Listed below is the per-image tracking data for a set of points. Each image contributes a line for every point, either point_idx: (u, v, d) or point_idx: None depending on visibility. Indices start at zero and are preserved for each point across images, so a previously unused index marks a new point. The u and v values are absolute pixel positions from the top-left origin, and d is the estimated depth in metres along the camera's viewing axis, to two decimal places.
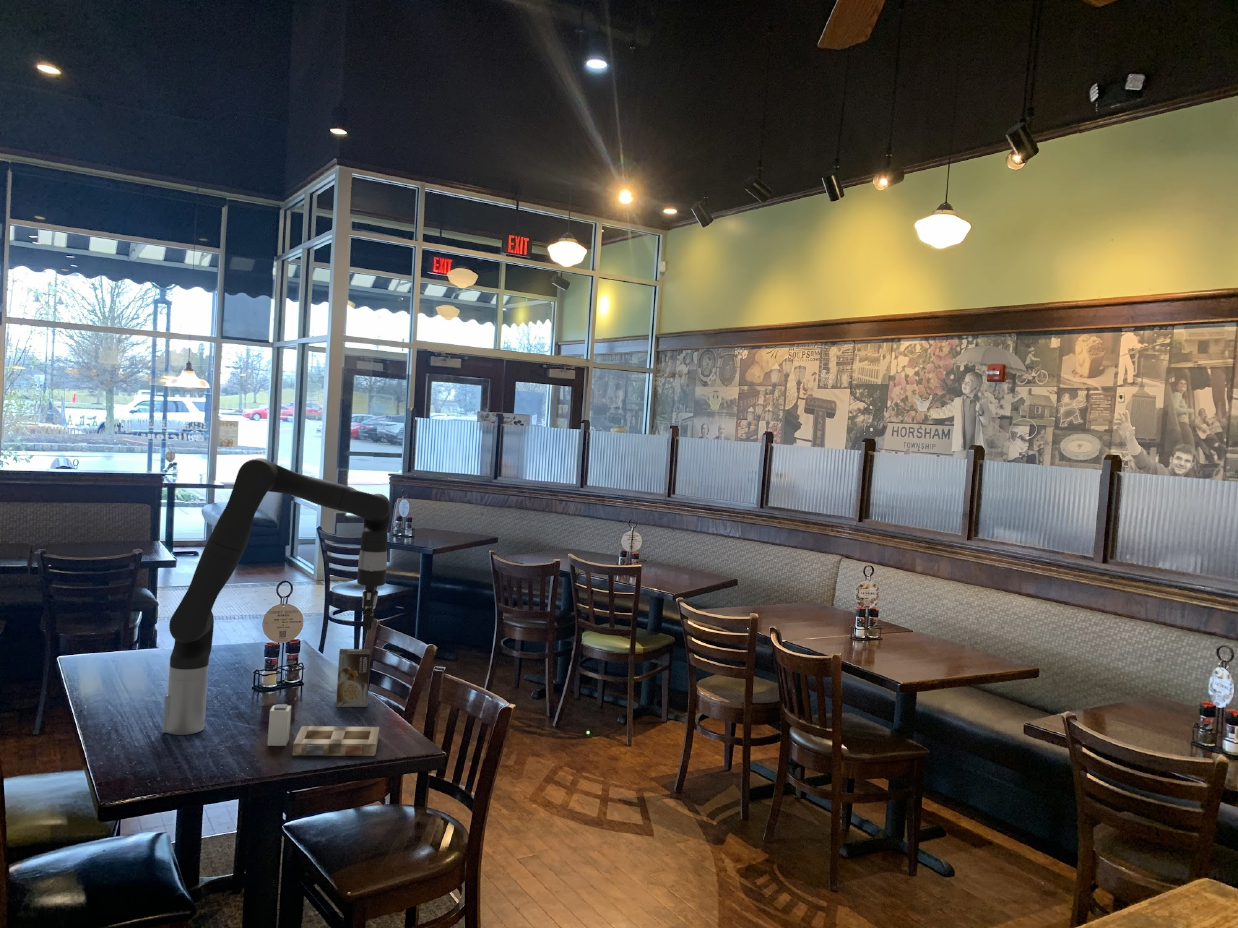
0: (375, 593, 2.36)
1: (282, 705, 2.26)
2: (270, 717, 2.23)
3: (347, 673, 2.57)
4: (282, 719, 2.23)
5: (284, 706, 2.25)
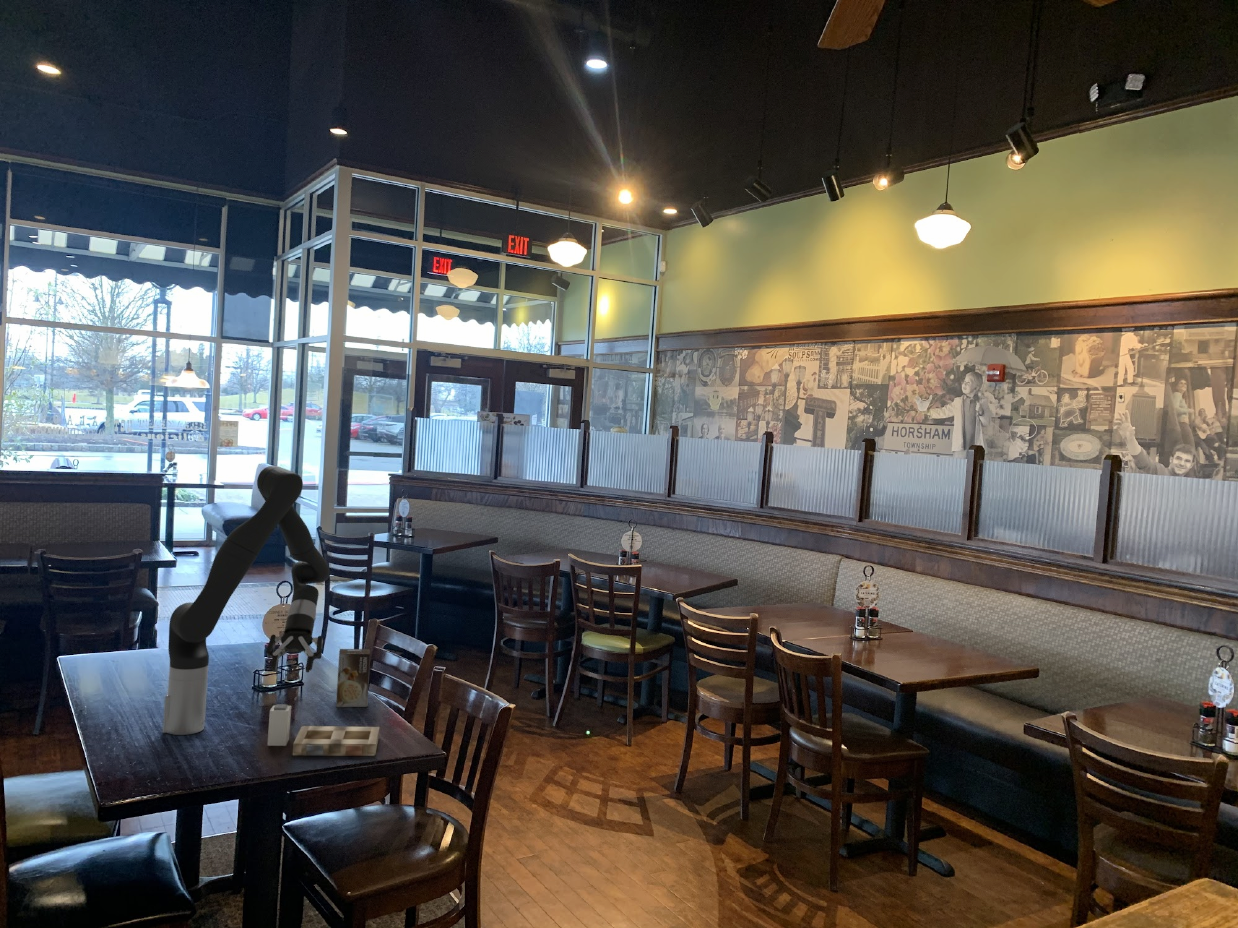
0: None
1: (282, 705, 2.26)
2: (270, 717, 2.23)
3: (347, 673, 2.57)
4: (282, 719, 2.23)
5: (284, 706, 2.25)
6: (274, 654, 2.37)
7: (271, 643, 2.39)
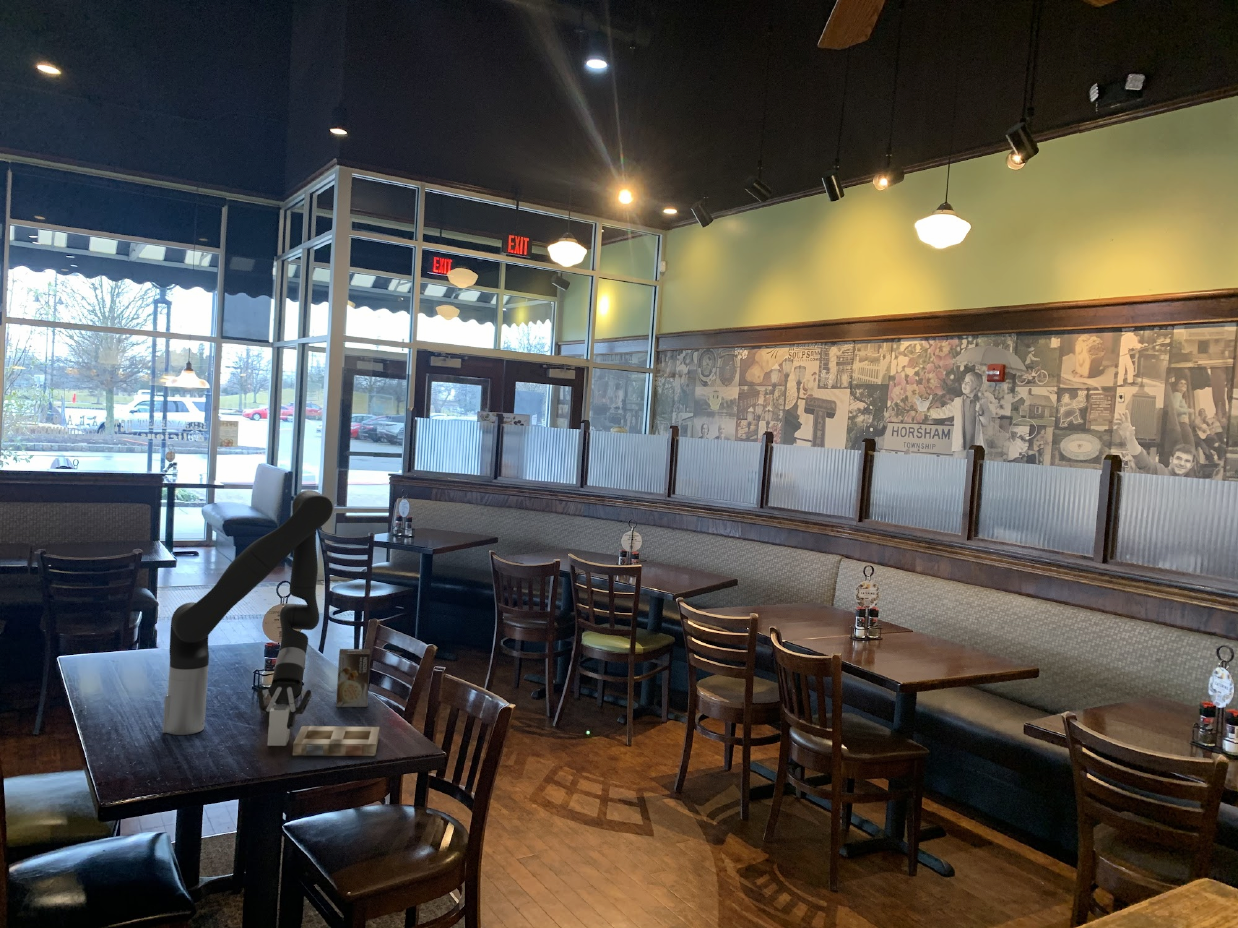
0: None
1: (282, 705, 2.26)
2: (270, 717, 2.23)
3: (347, 673, 2.57)
4: (282, 719, 2.23)
5: (284, 706, 2.25)
6: (267, 710, 2.25)
7: (261, 698, 2.27)
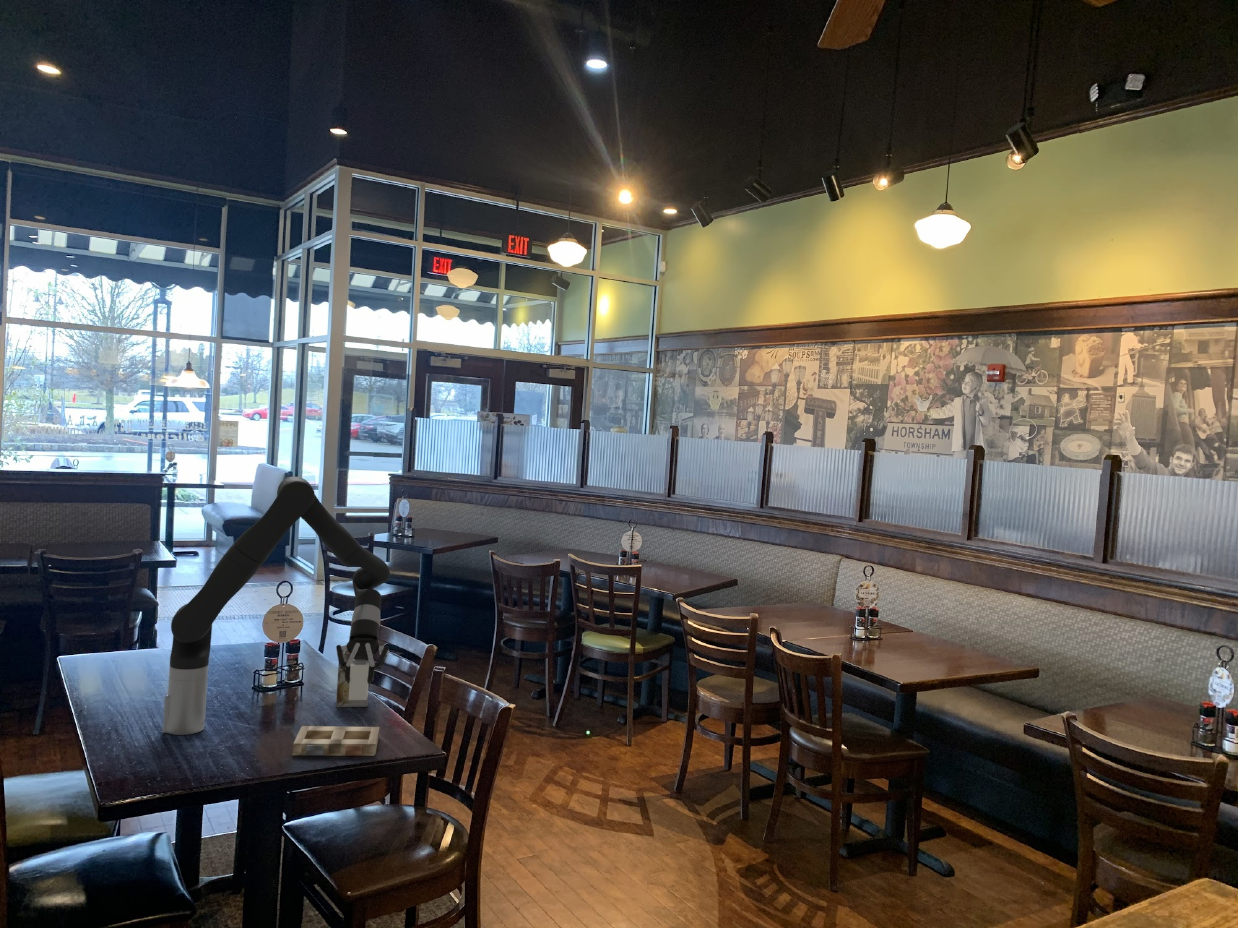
0: None
1: (361, 660, 2.27)
2: (351, 672, 2.24)
3: None
4: (362, 673, 2.25)
5: (364, 661, 2.27)
6: (348, 665, 2.26)
7: (340, 653, 2.28)
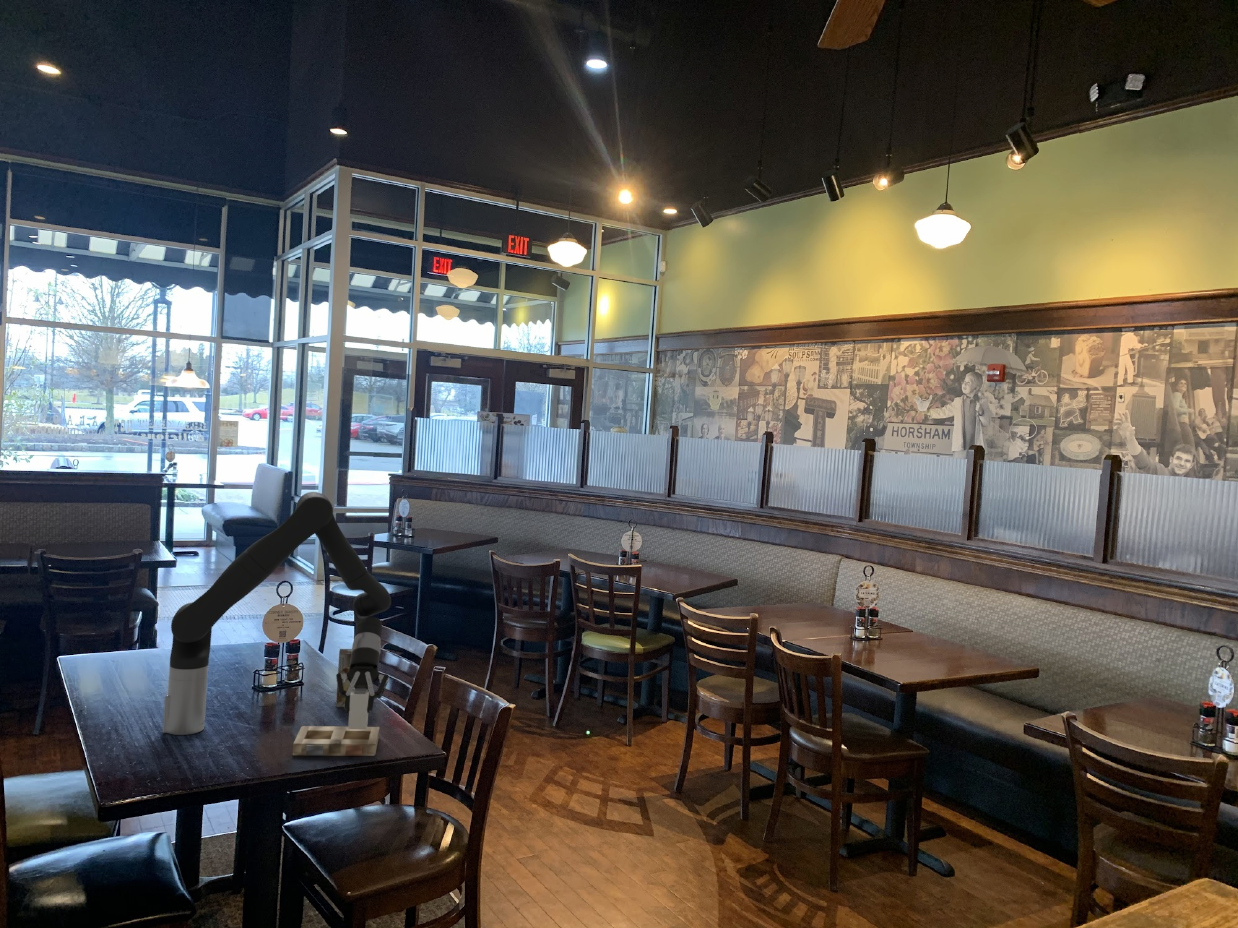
0: None
1: (361, 689, 2.27)
2: (350, 701, 2.24)
3: None
4: (362, 702, 2.25)
5: (363, 690, 2.27)
6: (347, 694, 2.26)
7: (340, 682, 2.28)
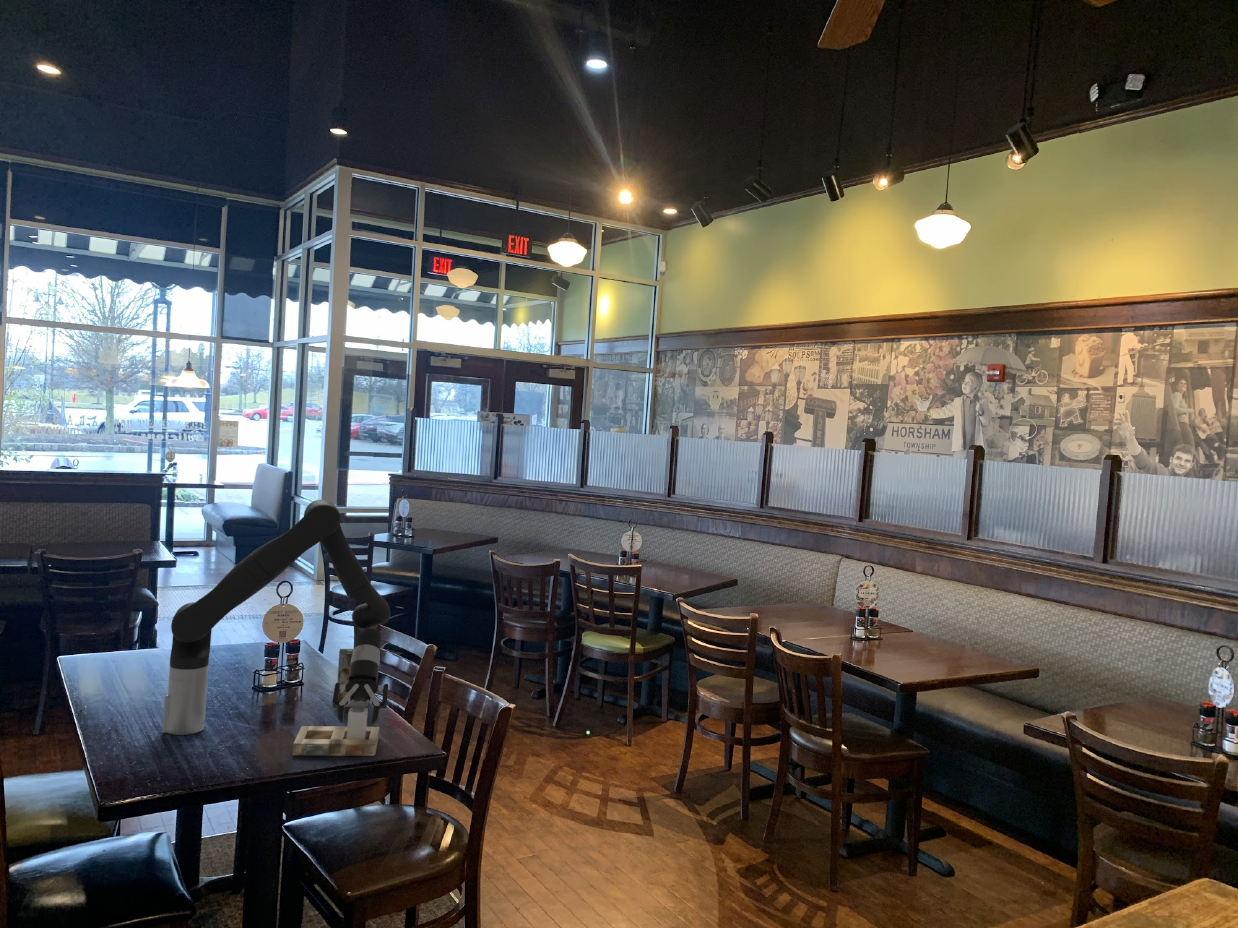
0: None
1: (359, 707, 2.27)
2: (348, 719, 2.24)
3: (347, 673, 2.57)
4: (360, 721, 2.25)
5: (362, 708, 2.27)
6: (340, 704, 2.27)
7: (336, 692, 2.29)
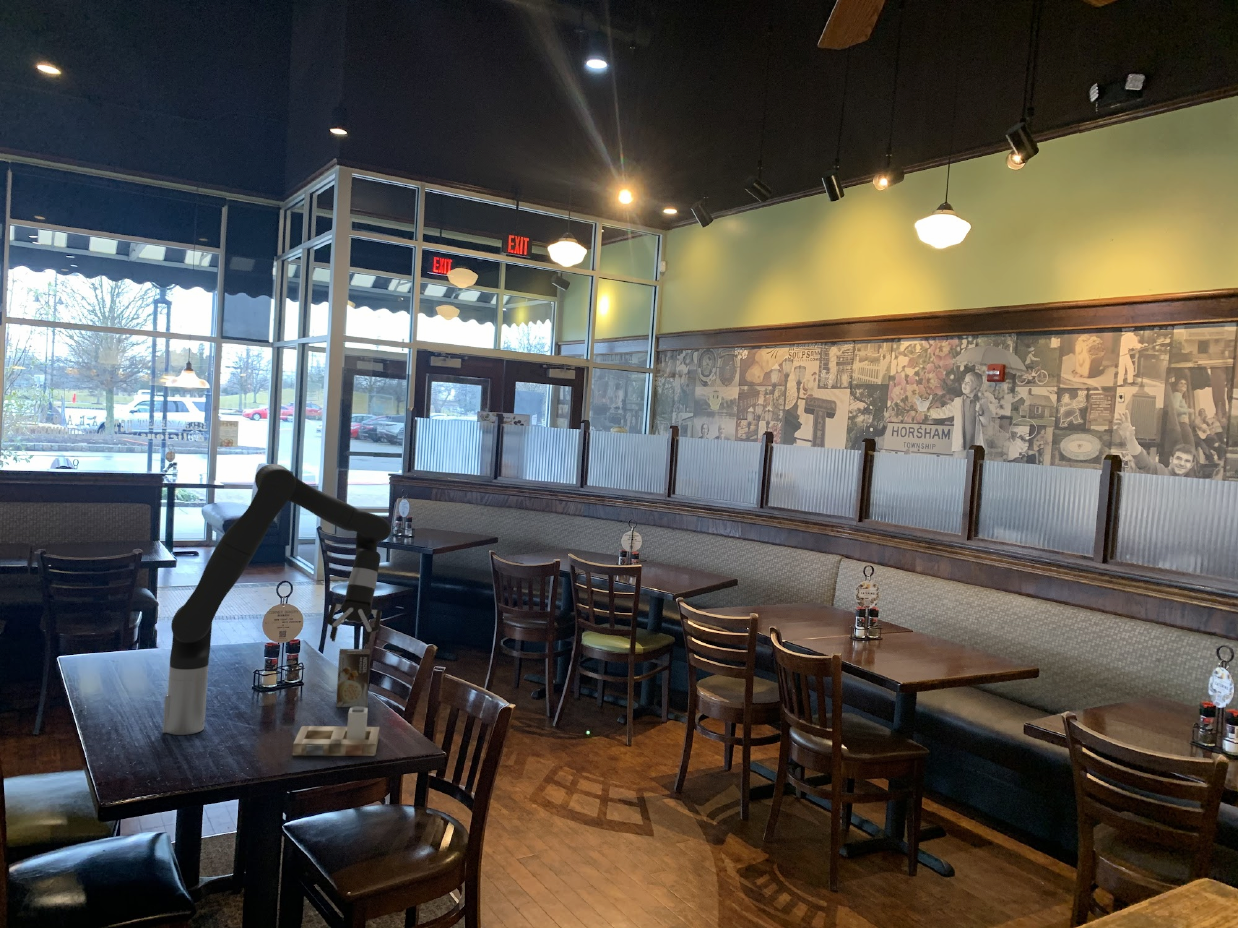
0: None
1: (359, 707, 2.27)
2: (348, 719, 2.24)
3: (347, 673, 2.57)
4: (360, 721, 2.25)
5: (362, 708, 2.27)
6: (334, 625, 2.40)
7: (331, 612, 2.41)
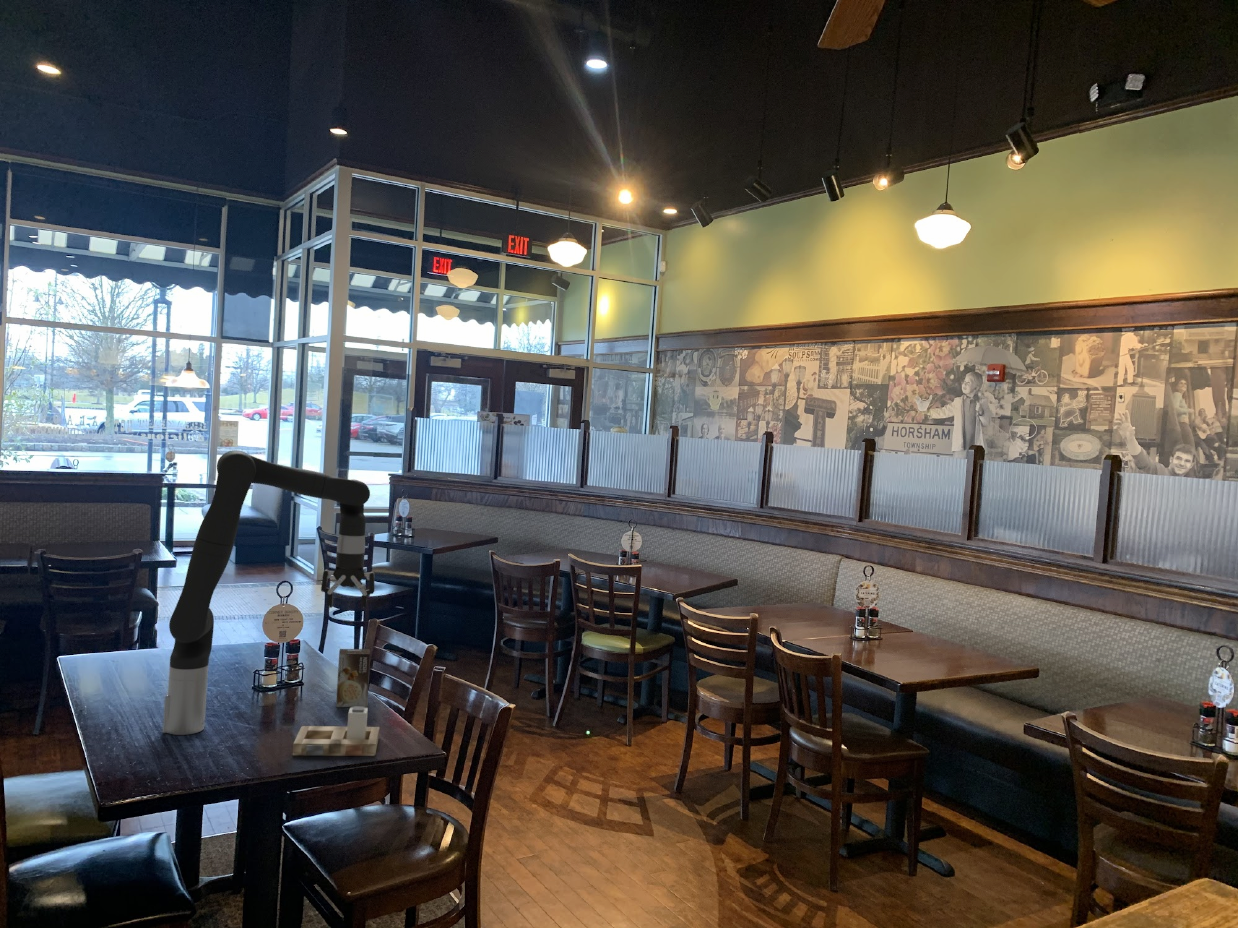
0: None
1: (359, 707, 2.27)
2: (348, 719, 2.24)
3: (347, 673, 2.57)
4: (360, 721, 2.25)
5: (362, 708, 2.27)
6: (329, 593, 2.43)
7: (324, 580, 2.42)
